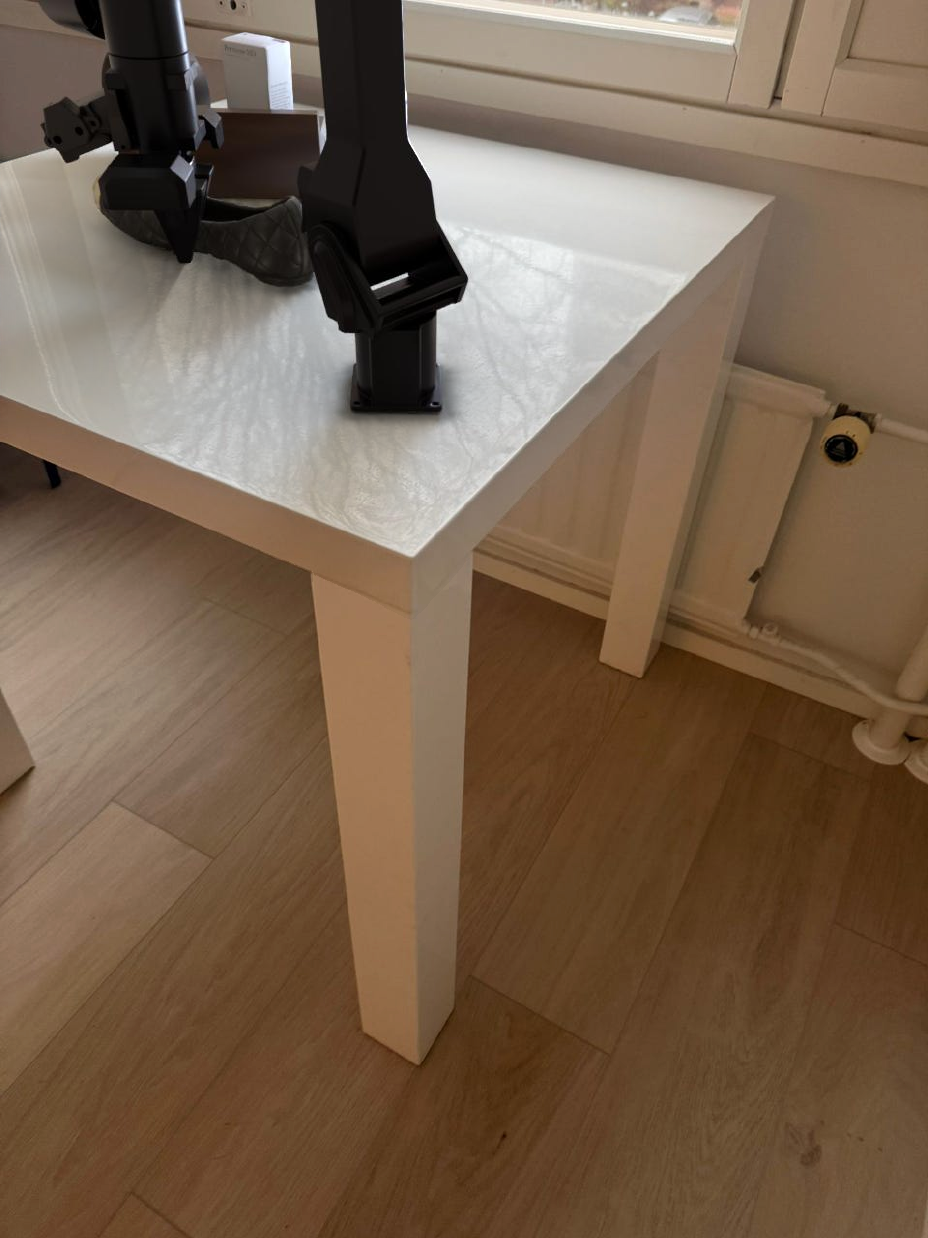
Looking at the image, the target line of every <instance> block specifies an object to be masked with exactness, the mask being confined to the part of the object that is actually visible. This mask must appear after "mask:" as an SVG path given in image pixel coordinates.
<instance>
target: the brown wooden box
mask: <svg viewBox="0 0 928 1238" xmlns="http://www.w3.org/2000/svg"><path fill="white" fill-rule="evenodd" d="M211 108H212V109H213V110H214V111H215V112H216V113H217V114H218V115H219V116H220V117H221V120H222V128H223V135H224V142H223V144H222V146H221V148H220V149H213V148H212V145H211V142H210V140H202V142H201V143H200V145H199V147H198V149H197V150H196V151H192V152H191V153H190V155H194V156H195V163H197V164H212V165H213V166H214V170H213V173H212V177H211V181H210V185H209V190H208V194H207V196H208V197H210V198H227V199H275V200H276V199H278V200H279V199H280V200H283V199H285V197H287V196H294V197H296V198H297V199H298V200H301V199H300V194H299V190H298V185H297V178H298V172H299V167H300V166H302V165H305V164H309V163H313V162H316V161H318V160H319V157H320V154H321V152H322V149H323V147H324V144H325V141H326V126H325V115H320V113H319V110H317V109H293V110H282V109H240V108H228V107H211ZM118 153H123V154H138V150H131V151H130V152H119V151H117V154H118Z"/></svg>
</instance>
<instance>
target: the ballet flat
mask: <svg viewBox="0 0 928 1238" xmlns="http://www.w3.org/2000/svg"><path fill="white" fill-rule="evenodd" d="M101 175H102V174H100V175H99V176H97V178H96V179H95V180H94V183H93V184H92V195H93V199H94V204H95V206H96V208H97V209H98V210H99V212H100V214H102V215H103V216H104V217H105V218H106V219H107V220H108V221H109V222H110V223H111V224H112V225H113V226H114V227H115V228H117V229H118V230H119V231H120V232H123V233H124V234H126V235H127V236H129V237H131V238H132V239H134V240H136V241H138V242H140V243H141V244H145V245H149V246H152V247H156V248H159V249H163V250H168V251H172V248H171V246H170V244H169V242H168V240H167V238H166V236H165V234H164V231H163V229H162V227H161V225H160V223H159V221H158V219H157V217H156V215H155V213H154V212H153V211H147V210H108V209H106V208H104V207H103V202H102V198H101V193H100V189H99V185H98V179H99V178H100V177H101ZM301 224H302V205H301V202H300V199H297V198H296V197H294V196H287V197H285V199H280V200H278V201H275V202H274V203H272V204H271V205H265V206H252V205H249V204H246V205H245V204H240V203H238V202H233V201H231V200H230V201H227V200H222V199H218V198H214V197H208V196H207V198H206V203H205V207H204V211H203V216H202V219H201V224H200V228H199V233H198V237H197V242H196V246H195V251H194V254H202V255H209V256H211V257H213V258H214V259H217V260H219V261H227V262H229V263H230V264H233V266H236V267H237V268H239V269H241V270H242V271H244V272H245V273H247V274H249V275H252V276H253V277H254V278H255V279H256V280H257V281H259V283H262V284H265V285H268V286H271V287H277V288H293V287H298V286H301V285H305V284H307V283H309V282H311V281H312V280H313V279H314V277H315V273H314V270H313V266H312V263H311V259H310V256H309V251H308V243H307V233H305V234H303V233H302V232H301Z"/></svg>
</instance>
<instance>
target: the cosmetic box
mask: <svg viewBox="0 0 928 1238" xmlns="http://www.w3.org/2000/svg"><path fill="white" fill-rule="evenodd" d="M220 48H221V58H222V68H223V76H224V77H223V78H224V85H225V96H226V108H240V109H282V110H294V101H293V97H294V96H293V82H292V81H293V80H292V65H291V62H292V61H291V44H290V41H287V40H283V39H279V38H275V37H272V36H268V35H261V34H256V33H251V32H246V31H245V32H240V33H237V34H233V35H230V36H226V37H224V38H221V39H220Z"/></svg>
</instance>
